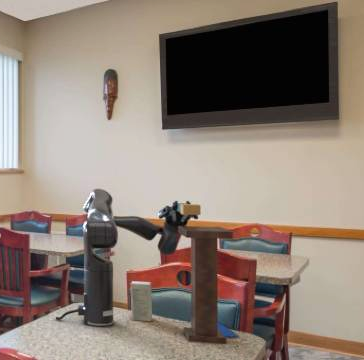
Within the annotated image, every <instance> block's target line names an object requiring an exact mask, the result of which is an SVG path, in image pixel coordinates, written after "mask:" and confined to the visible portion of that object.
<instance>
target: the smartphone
mask: <svg viewBox="0 0 364 360" xmlns="http://www.w3.org/2000/svg"><path fill="white" fill-rule="evenodd" d="M218 329H219V330H220V331H221V332H222V334H223V335H224V336H225V337H226V339H228V338H229V339H230V338H231V339H232V338H234V339H237V338H238V335H237V334H236V333H234V332H233V331H232V330H230V329H229V328H228V327H226V326H225V325H224V324H222V323H221V322H220V321H218Z"/></svg>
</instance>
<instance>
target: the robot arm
mask: <svg viewBox="0 0 364 360" xmlns="http://www.w3.org/2000/svg"><path fill="white" fill-rule="evenodd" d="M113 202H114V199H113V196H112V195H111V194H110V193H109V192H108V191H107V190H105V189H103V188H95V189H93V190H92V191H91V192H90V194H89V195H88V197H87V199H86V201H85V203H84V205H83V210H84V211H85V212H86V214H87V220H85V221H84V222H83V227H82V237H83V238H82V239H83V240H82V241H83V305H78V306H77V308H76V309H73V310H68V311H66V312H64V313H63V314H62V315H61V316H55V320H57V321H61V320H62V319H64V318H65V317H66V316H67V315H70V314H76V313H77V315H78V316H80V317H81V316H82V317H83V325H89V326H94V327H108V326H109V327H110V326H112V325H113V324H114V263H113V261H112V260H111V259H109V258H106V257H103V256H101V255H99V254H97V253H96V251H94V249H96V250H100V249H101V250H110V249H113V248H115V247H116V245H117V243H118V240H119V233H118V232H119V231H118V227H119V228H120V229H124V230H126V231H129V232H131V233H132V234H134V235H137V236H138V237H139V238H140V237H141V238H142V239H144V240H145V241H148V242H149V241H150V242H152V241H153V240H154V239H155V238H156V236H157V235H159V236H160V237H159V240H158V243H157V249H158V251H159V252H160V253H161V254H163V255H165V256H171V255H173V254H175V253H176V251H177V248H178V246H179V243H180V241H181V238H182V236H183V235H181V234H180V233H178V226H188V222H189V221H190V220H191V219H194V220H199V215H183V214H181V213H180V212H178V211H176V210H177V207H178V203H179V202H178V200H174V201H173V202H172V204H171V205H170V206H169V205H165V206H164V207H163V208H162V209H160V210H158V219H160V220H161V219H163V218H164V221H163V226H162V225H158V224H155V223H153V222H151V221H149V220H148V219H146V218H143V217H141V216H137V215H124V216H123V215H121V216H120V215H119V216H117V215H114V211H113ZM185 204H192V202H191V201H190V200H186V201H185Z"/></svg>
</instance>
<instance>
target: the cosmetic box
mask: <svg viewBox="0 0 364 360" xmlns="http://www.w3.org/2000/svg"><path fill="white" fill-rule="evenodd" d="M152 299H153V298H152V282H151V281H136V280H133V281H131V282H130V304H131V306H130V307H131V310H130V311H131V320H132V321H142V322H152V320H153V302H152V301H153V300H152Z"/></svg>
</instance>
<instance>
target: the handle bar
mask: <svg viewBox="0 0 364 360" xmlns="http://www.w3.org/2000/svg"><path fill="white" fill-rule="evenodd" d="M201 209H202V208H201V205H200V204H196V203H194V204H193V203H191V204H186V202H185V203H184V202H178V207H177V210H176V211H178V212H180V213H181V214H183V215H198V216H201V212H202V211H201Z"/></svg>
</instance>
